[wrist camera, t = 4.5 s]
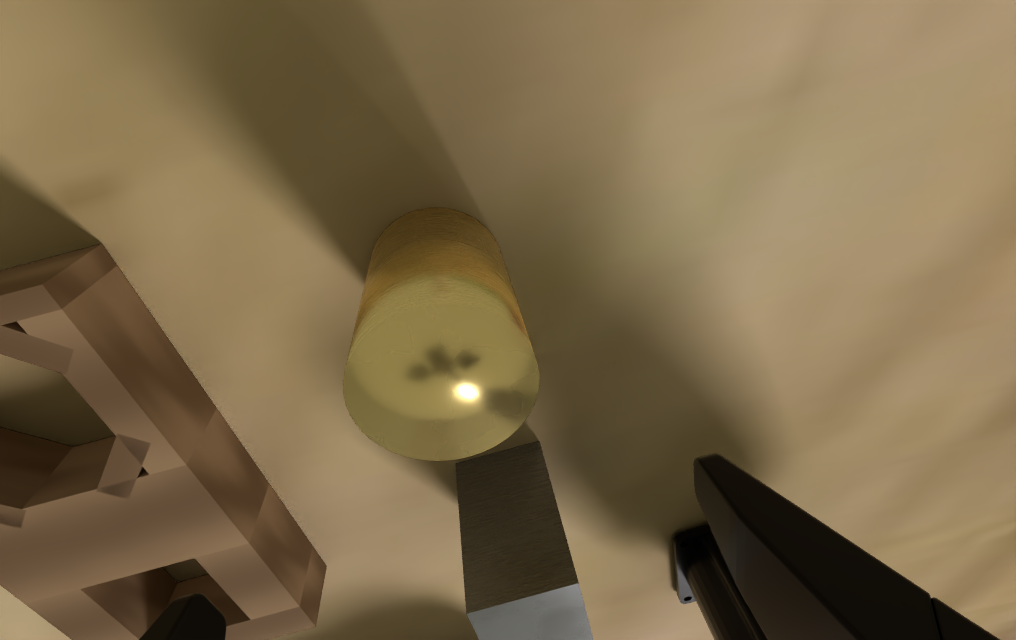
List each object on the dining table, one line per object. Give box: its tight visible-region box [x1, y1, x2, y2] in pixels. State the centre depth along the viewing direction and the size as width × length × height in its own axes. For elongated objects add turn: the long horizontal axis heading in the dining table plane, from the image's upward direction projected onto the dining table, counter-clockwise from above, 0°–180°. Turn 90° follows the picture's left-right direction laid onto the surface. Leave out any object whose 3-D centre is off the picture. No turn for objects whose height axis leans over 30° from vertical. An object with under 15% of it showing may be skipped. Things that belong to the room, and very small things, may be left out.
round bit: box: [343, 208, 539, 461], centre depth 16 cm, size 5×5×7 cm
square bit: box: [456, 441, 593, 640], centre depth 22 cm, size 4×4×7 cm
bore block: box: [0, 244, 327, 640], centre depth 20 cm, size 18×9×3 cm, turn 13°
